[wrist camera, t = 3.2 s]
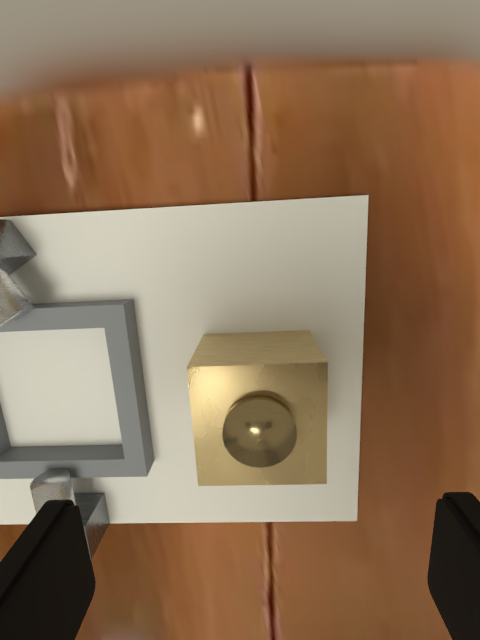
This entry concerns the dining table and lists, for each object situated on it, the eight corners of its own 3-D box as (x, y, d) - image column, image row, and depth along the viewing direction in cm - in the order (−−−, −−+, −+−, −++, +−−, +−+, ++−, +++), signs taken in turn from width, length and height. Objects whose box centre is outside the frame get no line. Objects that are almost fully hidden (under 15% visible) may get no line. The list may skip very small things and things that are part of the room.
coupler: (309, 329, 19) (330, 367, 14) (309, 425, 21) (329, 493, 15) (203, 334, 20) (184, 372, 14) (211, 428, 21) (196, 495, 16)
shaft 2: (48, 452, 22) (11, 492, 19) (97, 451, 22) (68, 491, 18) (63, 523, 23) (31, 573, 20) (109, 523, 23) (85, 573, 20)
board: (362, 197, 18) (378, 191, 16) (352, 508, 23) (364, 541, 21) (-96, 224, 20) (-145, 223, 17) (-16, 513, 25) (-45, 543, 22)
